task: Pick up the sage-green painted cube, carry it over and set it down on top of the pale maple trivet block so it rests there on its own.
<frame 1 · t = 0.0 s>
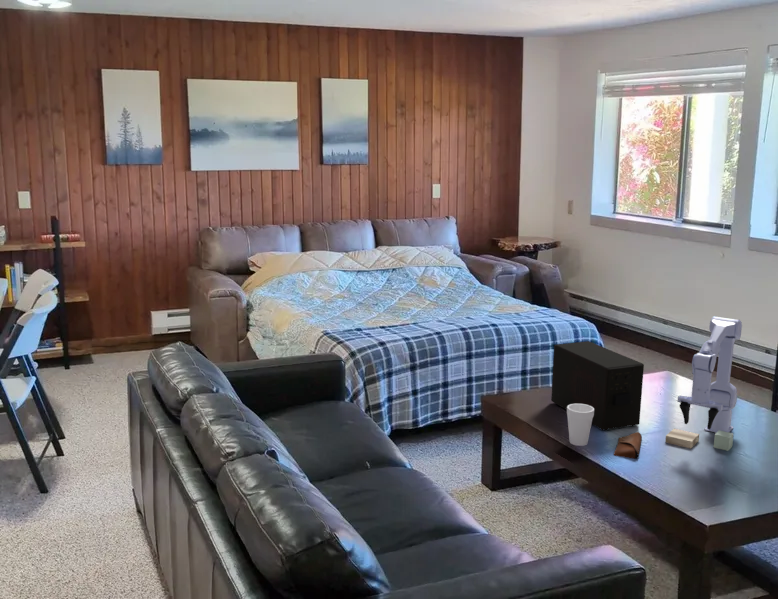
hand: (697, 425, 273), 10 cm above the table, fingers open, 7 cm apart
foam cup: (578, 442, 284), on the table
sunglasses case: (627, 449, 279), on the table
black rectangular box: (597, 415, 312), on the table
sage cube: (722, 447, 281), on the table
maple trivet: (681, 442, 286), on the table
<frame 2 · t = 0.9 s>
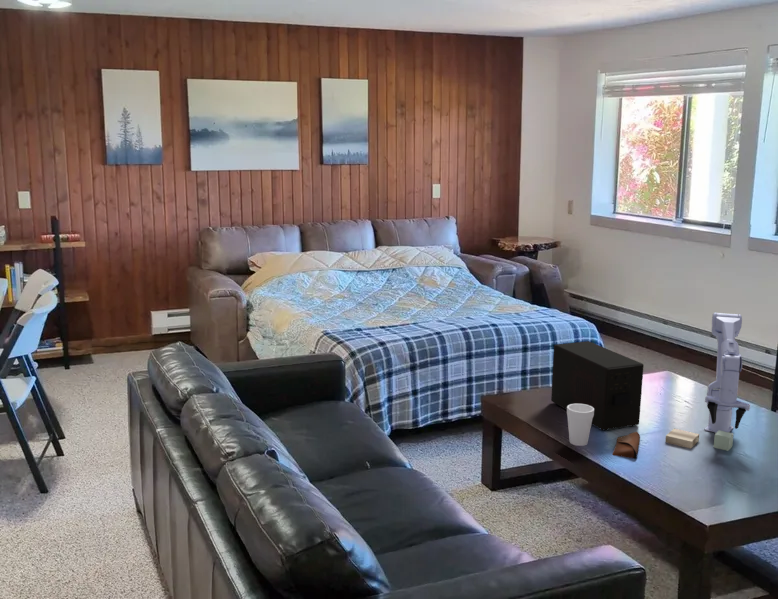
hand: (725, 425, 279), 8 cm above the table, fingers open, 7 cm apart
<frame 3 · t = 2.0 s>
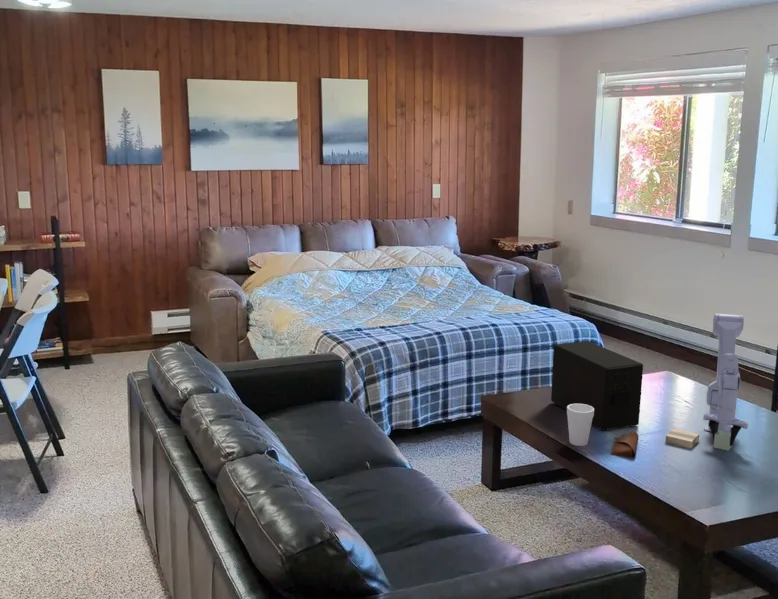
hand: (723, 443, 281), 1 cm above the table, fingers closed on sage cube, 5 cm apart
sage cube: (722, 446, 281), on the table, touching gripper
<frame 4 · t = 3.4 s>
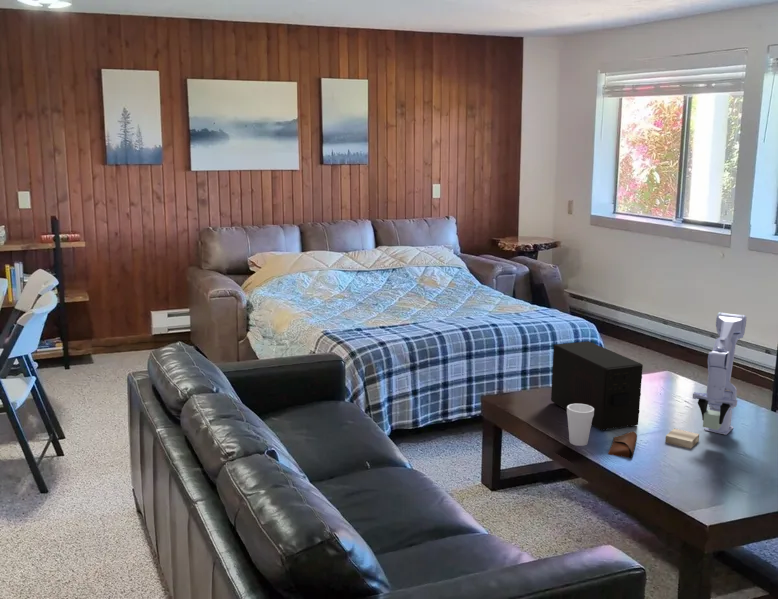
hand: (712, 421, 280), 9 cm above the table, fingers closed on sage cube, 5 cm apart
sage cube: (712, 426, 281), point 7 cm above the table, touching gripper
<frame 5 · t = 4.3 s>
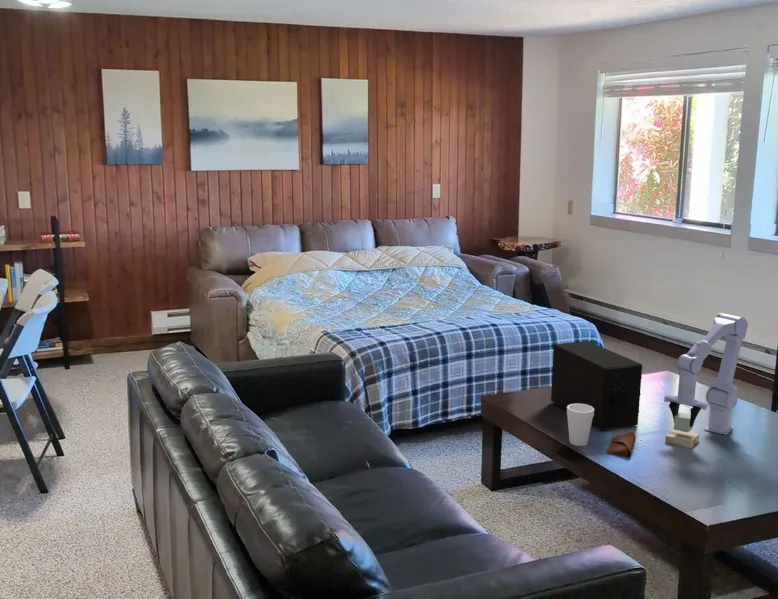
hand: (683, 424, 284), 7 cm above the table, fingers closed on sage cube, 5 cm apart
sage cube: (683, 429, 284), point 5 cm above the table, touching gripper
when the fingers open (6 cm above the table, at t = 4.9 s): sage cube drops 2 cm, resting on maple trivet.
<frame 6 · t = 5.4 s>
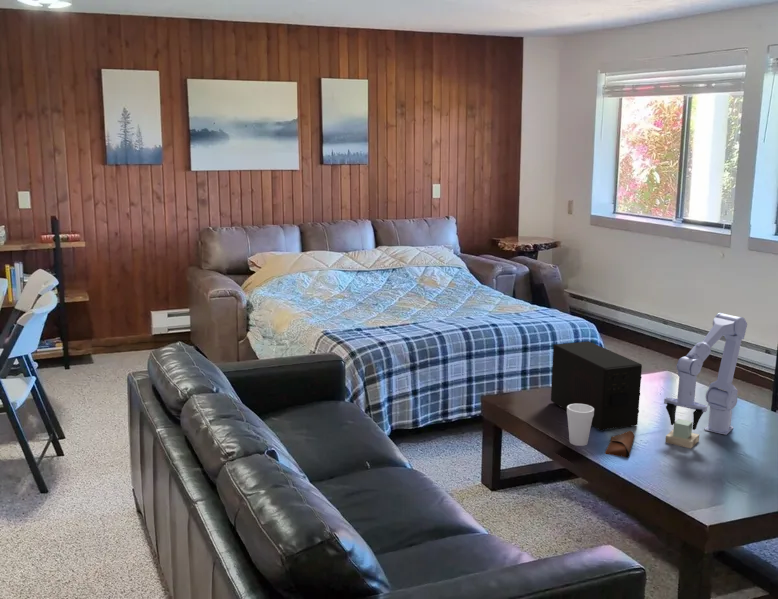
hand: (683, 426, 284), 6 cm above the table, fingers open, 7 cm apart
sage cube: (682, 435, 285), point 2 cm above the table, touching maple trivet
maple trivet: (681, 442, 286), on the table, touching sage cube
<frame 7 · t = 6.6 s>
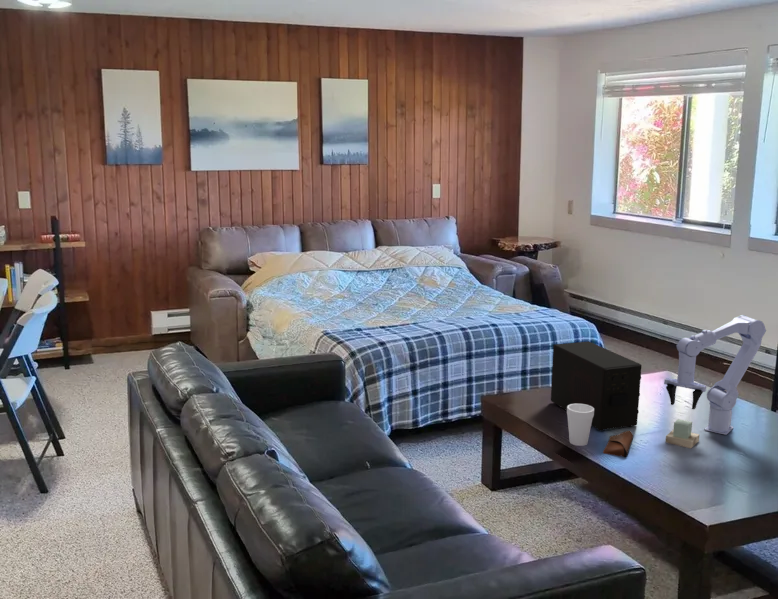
hand: (683, 406, 291), 10 cm above the table, fingers open, 7 cm apart
sage cube: (682, 435, 285), point 2 cm above the table
maple trivet: (682, 442, 286), on the table
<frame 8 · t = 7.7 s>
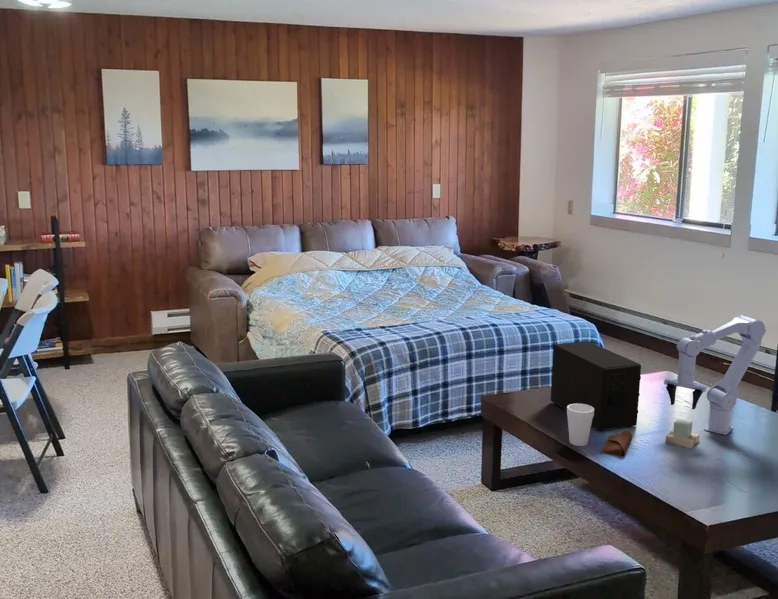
hand: (683, 406, 291), 10 cm above the table, fingers open, 7 cm apart
at the end: sage cube inside the target area on the maple trivet (0.5 cm from its centre), point 3.0 cm above the maple trivet's base; sage cube tilted 0°; the gripper is holding nothing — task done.
